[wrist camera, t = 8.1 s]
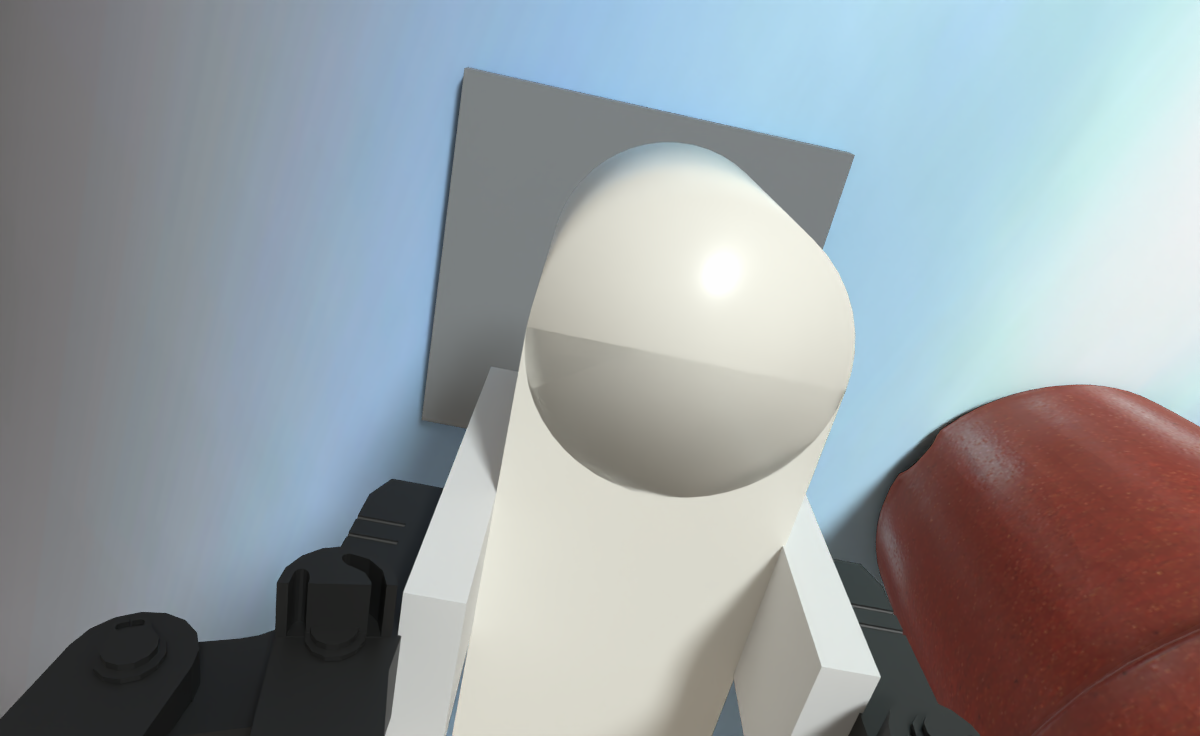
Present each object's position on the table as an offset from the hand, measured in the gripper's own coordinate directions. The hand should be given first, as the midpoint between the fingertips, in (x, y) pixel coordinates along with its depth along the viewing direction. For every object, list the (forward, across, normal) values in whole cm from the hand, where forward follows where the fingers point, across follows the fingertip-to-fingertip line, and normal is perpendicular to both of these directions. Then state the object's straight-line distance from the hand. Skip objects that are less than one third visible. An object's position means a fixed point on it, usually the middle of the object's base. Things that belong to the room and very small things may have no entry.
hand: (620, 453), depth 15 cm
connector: (+1, 0, 0) cm, 1 cm away
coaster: (+11, 0, 0) cm, 11 cm away
